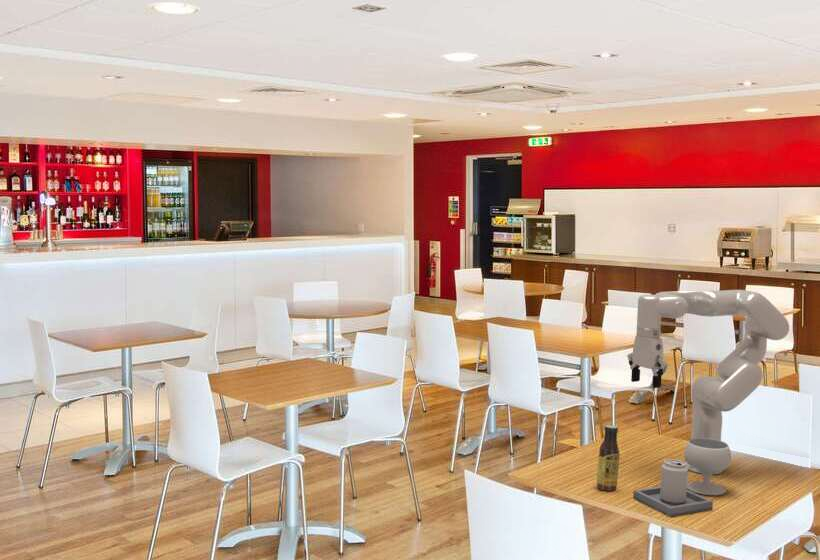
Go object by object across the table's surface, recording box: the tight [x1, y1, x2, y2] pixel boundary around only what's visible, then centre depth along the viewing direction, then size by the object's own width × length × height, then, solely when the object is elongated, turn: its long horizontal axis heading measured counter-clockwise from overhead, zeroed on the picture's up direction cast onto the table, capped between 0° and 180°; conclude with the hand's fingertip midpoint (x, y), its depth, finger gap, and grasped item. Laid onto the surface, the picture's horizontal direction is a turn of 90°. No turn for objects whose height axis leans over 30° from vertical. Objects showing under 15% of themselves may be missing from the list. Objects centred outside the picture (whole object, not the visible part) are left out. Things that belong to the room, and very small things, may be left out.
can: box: [660, 458, 689, 504], centre depth 257 cm, size 8×8×12 cm
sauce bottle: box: [596, 424, 621, 492], centre depth 268 cm, size 6×6×20 cm
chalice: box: [683, 438, 732, 496], centre depth 270 cm, size 14×14×15 cm
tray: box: [632, 485, 714, 518], centre depth 257 cm, size 16×16×2 cm
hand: (645, 384), depth 282 cm, fingers open, 9 cm apart
